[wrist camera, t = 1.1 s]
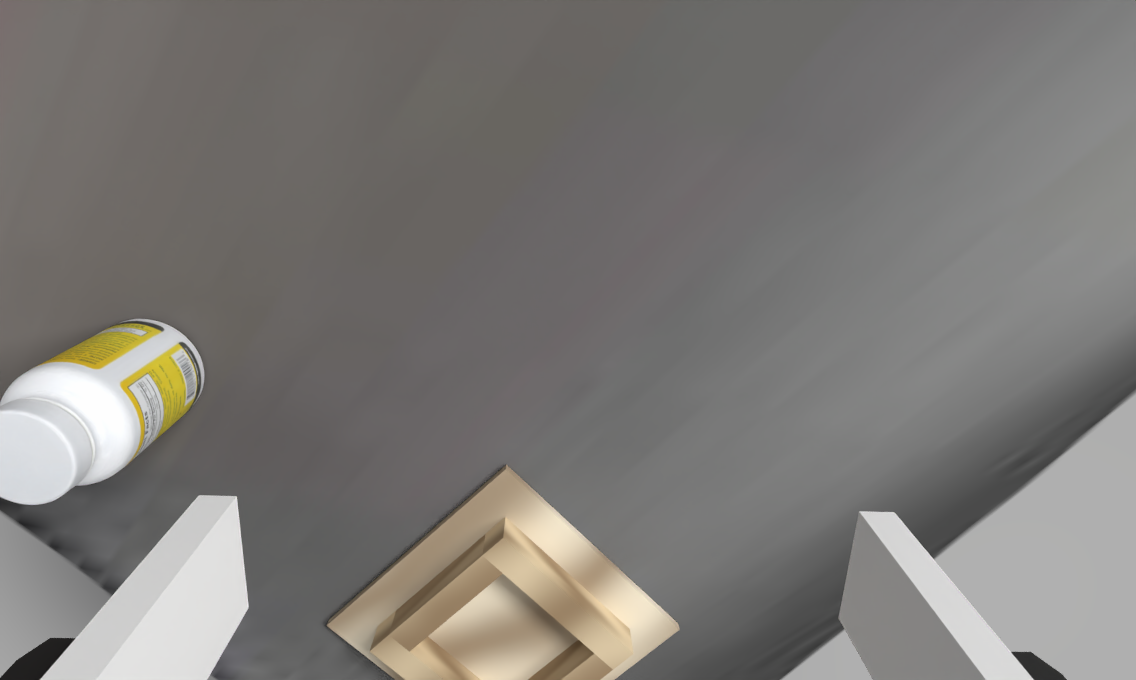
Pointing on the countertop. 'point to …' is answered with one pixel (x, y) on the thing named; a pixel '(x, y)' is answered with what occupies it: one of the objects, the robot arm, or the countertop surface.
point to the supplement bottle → (94, 408)
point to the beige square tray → (503, 599)
